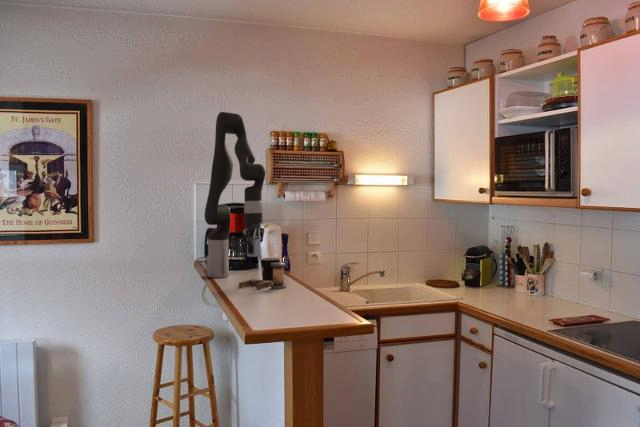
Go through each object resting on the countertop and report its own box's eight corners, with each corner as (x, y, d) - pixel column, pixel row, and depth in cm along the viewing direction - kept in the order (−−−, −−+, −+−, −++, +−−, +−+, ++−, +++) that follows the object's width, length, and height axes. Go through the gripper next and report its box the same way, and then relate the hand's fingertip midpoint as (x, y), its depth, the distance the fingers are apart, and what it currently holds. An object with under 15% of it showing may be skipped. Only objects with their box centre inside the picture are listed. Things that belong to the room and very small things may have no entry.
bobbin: (268, 288, 219) (268, 263, 218) (275, 285, 224) (275, 262, 224) (281, 289, 216) (281, 264, 216) (288, 287, 221) (288, 263, 221)
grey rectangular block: (247, 256, 222) (246, 239, 222) (252, 255, 226) (252, 238, 225) (255, 256, 220) (255, 239, 220) (260, 255, 224) (260, 239, 224)
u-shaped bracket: (239, 287, 220) (239, 282, 220) (252, 283, 229) (252, 279, 229) (259, 289, 216) (260, 284, 215) (272, 285, 225) (272, 280, 225)
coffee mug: (278, 283, 231) (279, 260, 230) (258, 283, 231) (259, 260, 231) (281, 279, 242) (281, 257, 242) (262, 278, 243) (262, 256, 242)
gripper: (254, 211, 231) (255, 251, 231) (235, 212, 218) (236, 254, 218) (269, 211, 227) (270, 252, 228) (251, 212, 214) (251, 255, 215)
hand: (253, 253), depth 223 cm, fingers closed on grey rectangular block, 4 cm apart
